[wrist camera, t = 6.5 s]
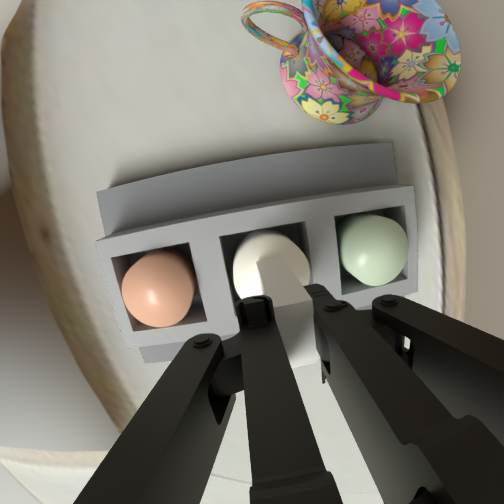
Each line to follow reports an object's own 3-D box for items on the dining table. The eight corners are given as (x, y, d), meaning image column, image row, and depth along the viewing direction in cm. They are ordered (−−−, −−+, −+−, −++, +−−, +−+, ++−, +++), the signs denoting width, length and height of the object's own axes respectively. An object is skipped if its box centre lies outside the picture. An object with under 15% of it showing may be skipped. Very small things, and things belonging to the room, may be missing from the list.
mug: (380, 44, 20) (448, -8, 10) (381, 140, 22) (468, 123, 12) (242, 18, 19) (250, -66, 9) (232, 120, 21) (234, 70, 11)
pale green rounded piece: (327, 216, 21) (345, 223, 17) (381, 207, 21) (406, 213, 17) (333, 275, 22) (351, 292, 18) (386, 264, 22) (409, 278, 18)
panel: (106, 190, 21) (77, 194, 16) (380, 144, 22) (412, 138, 17) (150, 351, 25) (136, 384, 20) (392, 304, 25) (420, 327, 20)
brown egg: (131, 252, 20) (113, 265, 17) (189, 240, 20) (181, 252, 17) (146, 309, 21) (133, 331, 18) (203, 300, 21) (198, 322, 18)
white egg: (227, 235, 20) (226, 245, 17) (292, 223, 20) (305, 231, 17) (239, 296, 21) (241, 318, 18) (301, 285, 21) (313, 303, 18)
